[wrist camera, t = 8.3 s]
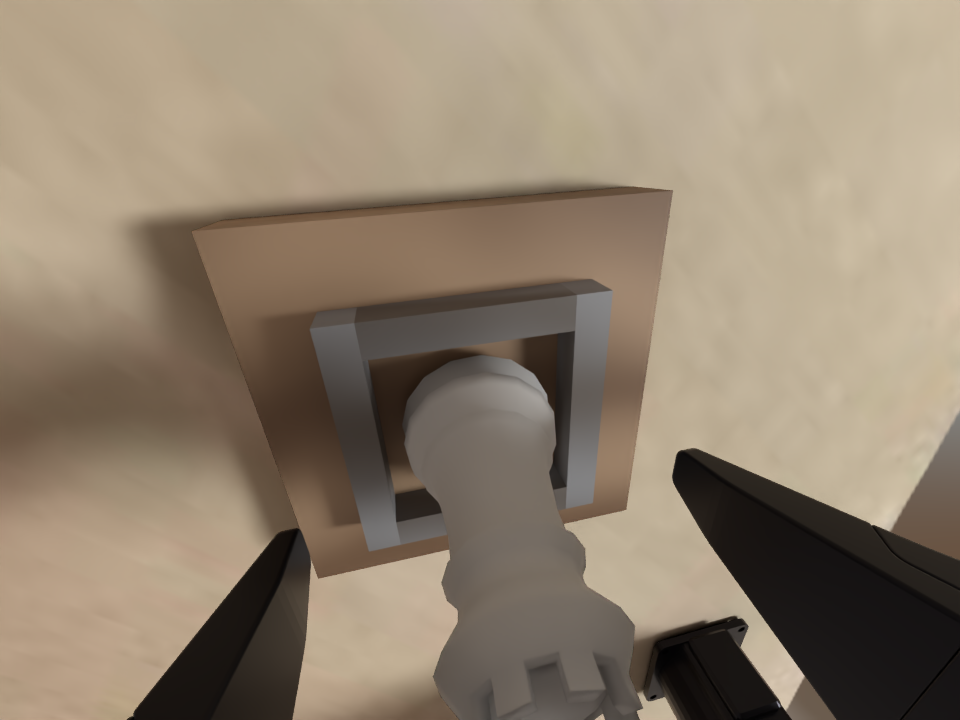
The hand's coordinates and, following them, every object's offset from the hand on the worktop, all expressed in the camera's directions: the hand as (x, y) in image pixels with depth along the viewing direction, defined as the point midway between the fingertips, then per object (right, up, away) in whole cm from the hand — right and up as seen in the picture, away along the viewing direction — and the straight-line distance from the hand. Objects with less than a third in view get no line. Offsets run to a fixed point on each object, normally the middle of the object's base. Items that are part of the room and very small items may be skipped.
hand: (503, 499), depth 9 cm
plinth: (-1, +3, +5) cm, 6 cm away
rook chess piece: (-1, +2, +3) cm, 4 cm away
